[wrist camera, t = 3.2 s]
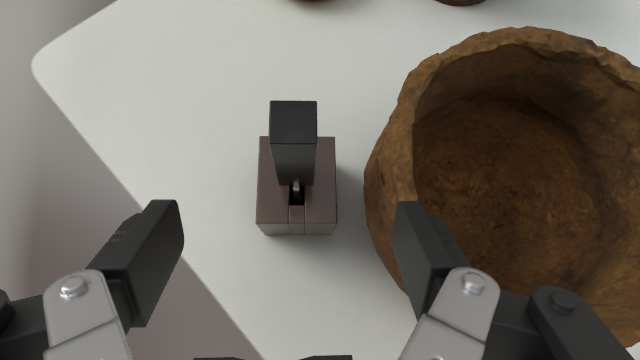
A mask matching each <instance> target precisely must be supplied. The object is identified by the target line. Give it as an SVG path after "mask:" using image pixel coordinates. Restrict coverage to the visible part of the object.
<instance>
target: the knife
mask: <svg viewBox="0 0 640 360" xmlns="http://www.w3.org/2000/svg"><path fill="white" fill-rule="evenodd" d="M268 143H269V147H270V151H271V155H272V159H273V163H274V167H275V171H276V175H277V179H278V183H279V186H293V191H294V200H295V205H300V186H313V184H314V174H315V163H316V152H317V102H316V101H270V112H269V141H268Z"/></svg>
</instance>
